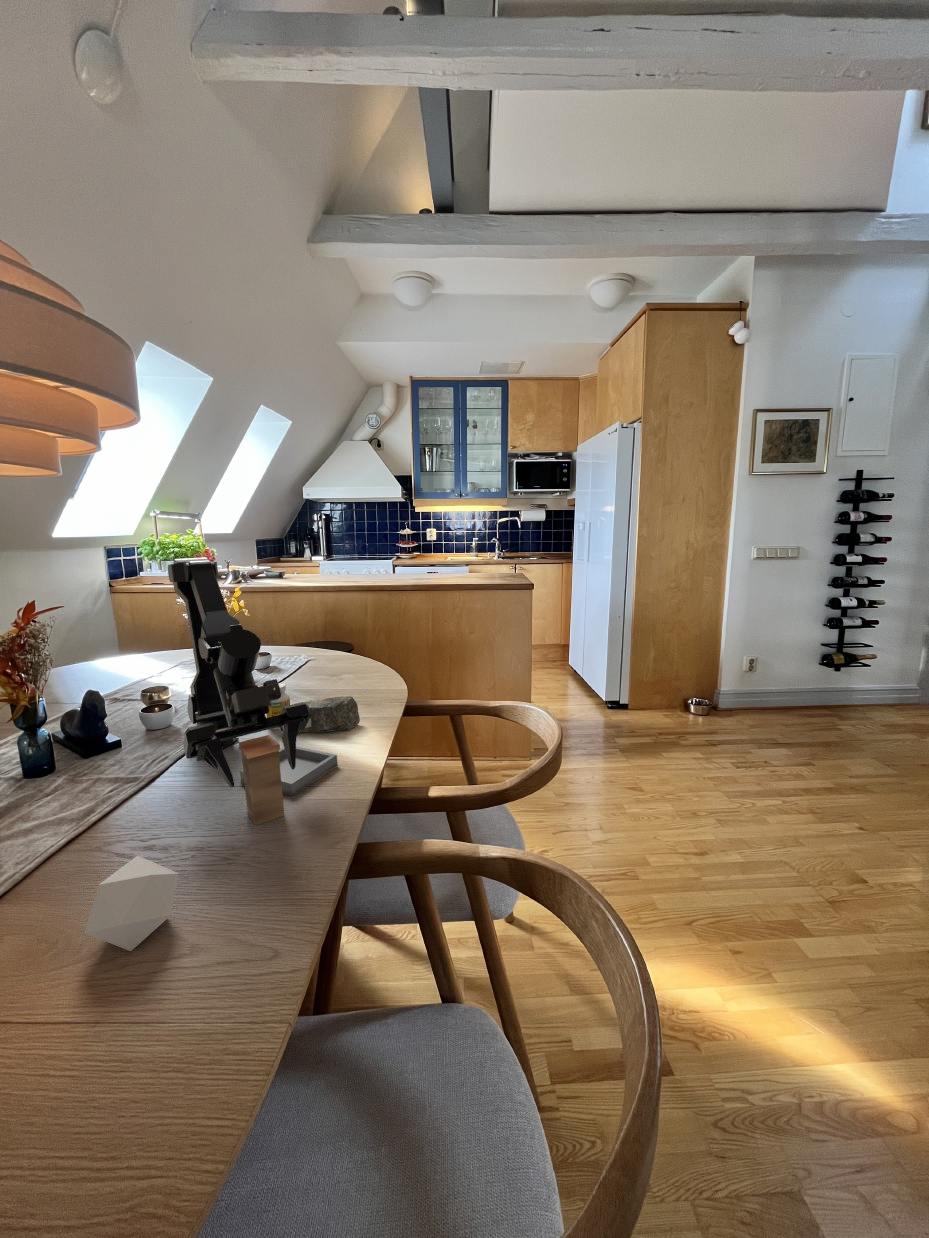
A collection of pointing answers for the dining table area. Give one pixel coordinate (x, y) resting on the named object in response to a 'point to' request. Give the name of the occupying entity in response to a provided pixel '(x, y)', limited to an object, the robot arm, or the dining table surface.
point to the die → (132, 903)
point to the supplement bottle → (279, 703)
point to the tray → (302, 769)
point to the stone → (332, 714)
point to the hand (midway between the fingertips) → (264, 777)
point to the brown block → (262, 778)
